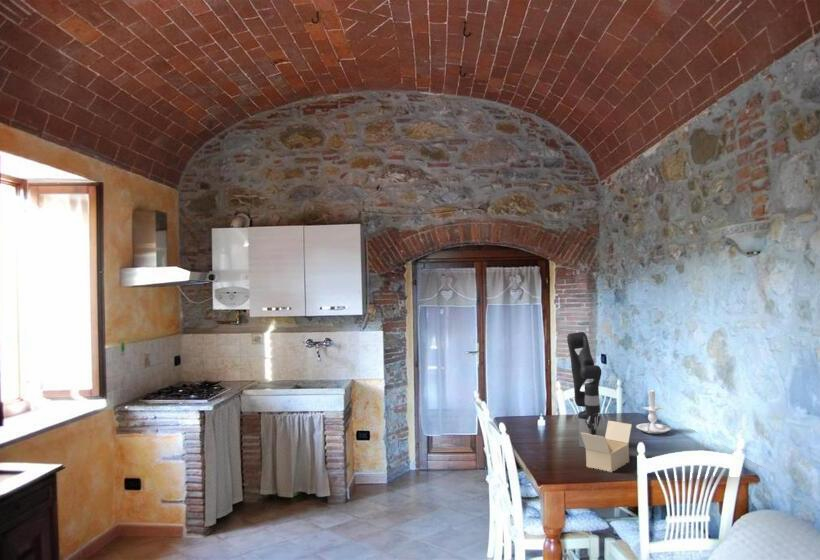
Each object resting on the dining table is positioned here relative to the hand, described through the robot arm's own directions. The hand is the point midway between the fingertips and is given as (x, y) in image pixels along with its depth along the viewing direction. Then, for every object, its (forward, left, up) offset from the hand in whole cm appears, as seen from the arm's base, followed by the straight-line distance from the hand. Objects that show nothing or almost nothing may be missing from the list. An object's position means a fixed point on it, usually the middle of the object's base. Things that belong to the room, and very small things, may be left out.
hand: (593, 435), depth 277 cm
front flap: (-1, 0, -4) cm, 4 cm away
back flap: (-29, 0, -4) cm, 29 cm away
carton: (-15, 0, -19) cm, 24 cm away
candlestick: (-90, -5, -19) cm, 92 cm away
